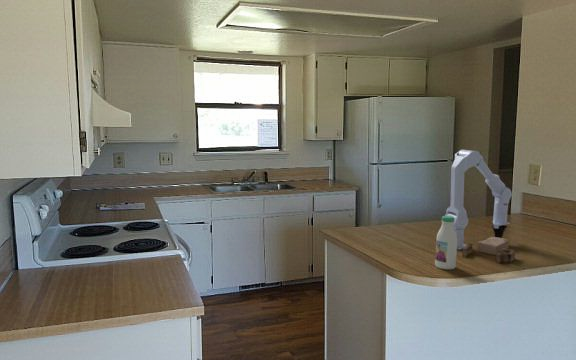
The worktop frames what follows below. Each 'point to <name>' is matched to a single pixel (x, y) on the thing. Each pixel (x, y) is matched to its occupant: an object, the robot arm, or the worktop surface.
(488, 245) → the brick
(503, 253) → the tunnel
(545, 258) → the worktop surface
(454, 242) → the milk bottle
